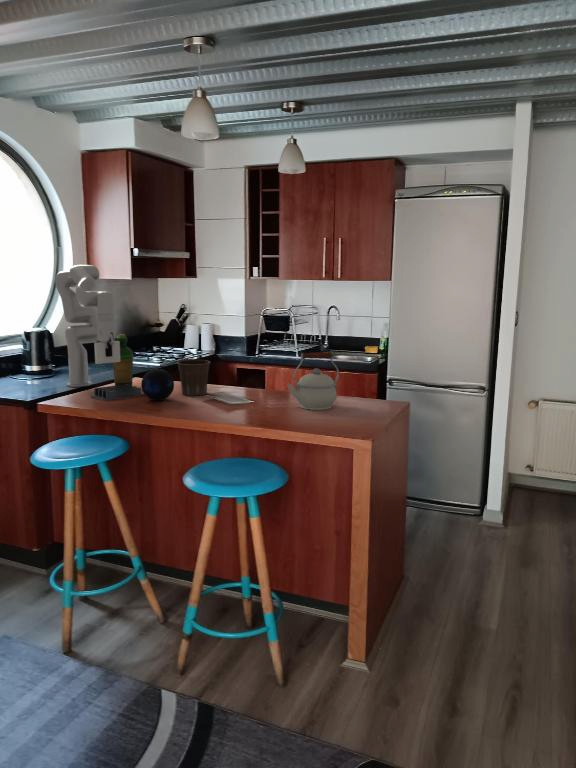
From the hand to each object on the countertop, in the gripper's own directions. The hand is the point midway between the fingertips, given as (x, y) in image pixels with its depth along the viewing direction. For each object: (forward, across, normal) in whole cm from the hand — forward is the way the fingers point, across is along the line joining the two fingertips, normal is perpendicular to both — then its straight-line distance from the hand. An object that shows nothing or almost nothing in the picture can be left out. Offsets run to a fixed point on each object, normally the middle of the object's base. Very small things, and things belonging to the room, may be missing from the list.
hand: (107, 356), depth 301 cm
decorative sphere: (+20, +24, +13) cm, 34 cm away
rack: (+20, +2, +3) cm, 20 cm away
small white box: (+3, 0, 0) cm, 3 cm away
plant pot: (+20, +22, +35) cm, 45 cm away
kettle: (+21, +82, +58) cm, 103 cm away
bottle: (+20, -14, +15) cm, 28 cm away
